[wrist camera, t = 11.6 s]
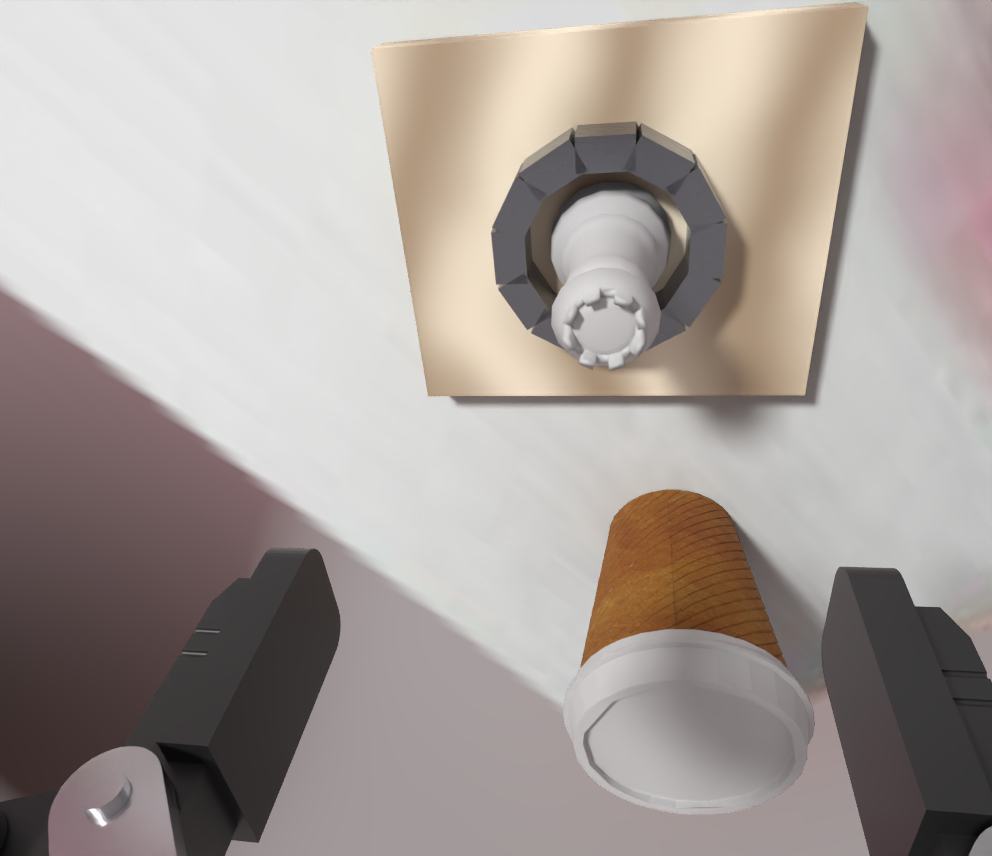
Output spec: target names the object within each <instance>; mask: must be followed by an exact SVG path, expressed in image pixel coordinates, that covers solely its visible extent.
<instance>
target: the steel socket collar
mask: <svg viewBox="0 0 992 856" xmlns="http://www.w3.org/2000/svg"><path fill="white" fill-rule="evenodd" d="M612 172H631V173H632V174H634V175H636V176H638V177H640V178H642V179H644V180H646V181H648V182H649V183H651V184H653V185H655V186H657V187H659V188H661V189H663V190H665V191H666V192H668V193H670V195H671V197H672V199H673V200H674V202H675V204H676V206H677V208H678V209H679V211H680V213H681V215H682V216H683V218H684V220H685V222H686V223H687V229H686V248H685V256H684V257H683V259H682V260H681V262H680V263H679V265H678V266H677V268H676V269H675V271H674V273H673V274H672V276H671V277H670V279H669V280H668V282H667V283H666V285H665V286H664V288H663V289H661V290H659V291H658V292H656V293H655V295H656V298H657V301H658V304H659V308H660V311H661V317H660V325H659V332H658V334H657V335H656V337H655V339H654V340H653V342H652V343H651V345H650V347H649V348H648V349H647V350H649V349H651V348H653V347H655V346H657V345H659V344H660V343H662V342H664V341H666V340H668V339H670V338H672V337H674V336H676V335H678V334H680V333H682V332H684V331H686V330H685V325H686V326H688V327H690V326H691V325H692V323H693V322H694V320H695V319H696V318H697V316H698V315H699V313H700V312H701V311H702V309H703V308H704V306H705V305H706V304H707V302H708V301H709V299H710V298H711V296H712V295H713V294H714V292H715V291H716V289H717V288H718V287H719V285H720V284H721V281H720V278H723V269H724V257H725V245H726V233H727V221H726V216H725V213H724V210H723V207H722V204H721V201H720V199H719V197H718V195H717V194H716V192H715V190H714V188H713V186H712V184H711V182H710V181H709V179H708V177H707V175H706V173H705V171H704V169H703V168H702V166H701V164H700V162H699V160H698V158H697V156H696V155H695V154H692V151H691V149H689V148H687V147H685V146H683V145H682V144H680V143H678V142H676V141H674V140H672V139H671V138H669V137H667V136H665V135H663V134H661V133H659V132H658V131H656V130H654V129H652V128H650V127H648V126H646V125H645V124H643V123H641V124H640V125H639V127H638V129H637V131H636V121H634V122H618V123H603V124H587V125H577V129H576V132H575V131H574V129H573V127H571V128H570V129H568V130H567V131H566V132H564V133H563V134H561V135H560V136H558V137H557V138H555V139H554V140H552V141H551V142H549V143H548V144H547V145H545V146H544V147H542V148H541V149H539V150H538V151H536V152H535V153H533V154H532V155H530V156H529V157H528V158H526V159H525V161H524V163H522V164H521V166H520V168H519V170H518V172H517V174H516V176H515V178H514V181H513V183H512V185H511V187H510V189H509V191H508V193H507V195H506V198H505V200H504V202H503V204H502V206H501V208H500V210H499V212H498V215H497V217H496V219H495V221H494V224H493V226H492V228H493V229H492V231H491V238H492V249H493V259H494V269H495V280H496V285H499V287H498V290H499V292H500V293H501V294H502V296H503V297H504V299H505V300H506V301H507V303H508V304H509V306H510V307H511V308H512V310H513V311H514V313H515V314H516V315H517V317H518V318H519V319H520V321H521V322H522V324H523V325H524V326H525V328H526V329H527V330H528V329H530V328H532V331H531V334H533V335H535V336H537V337H540V338H542V339H544V340H546V341H548V342H550V343H552V344H554V345H556V346H558V347H560V348H562V349H564V348H563V347H562V346H561V345H560V344H559V343H558V341H557V338H556V336H555V333H554V331H553V329H552V326H551V319H552V305H553V303H554V301H555V299H556V297H557V295H558V293H556V292H554V291H553V289H552V288H551V287H550V285H549V284H548V282H547V281H546V279H545V278H544V276H543V275H542V273H541V272H540V270H539V269H538V267H537V266H536V265H535V263H534V262H533V260H532V247H531V232H530V225H531V223H532V221H533V219H534V217H535V216H536V214H537V212H538V210H539V208H540V206H541V204H542V202H543V200H544V199H545V198H546V197H548V196H549V195H551V194H552V193H554V192H555V191H557V190H558V189H560V188H562V187H563V186H565V185H566V184H568V183H569V182H571V181H572V180H574V179H575V178H577V177H579V176H580V175H582V174H593V173H612ZM564 350H565V349H564ZM647 350H646V351H647Z"/></svg>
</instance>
